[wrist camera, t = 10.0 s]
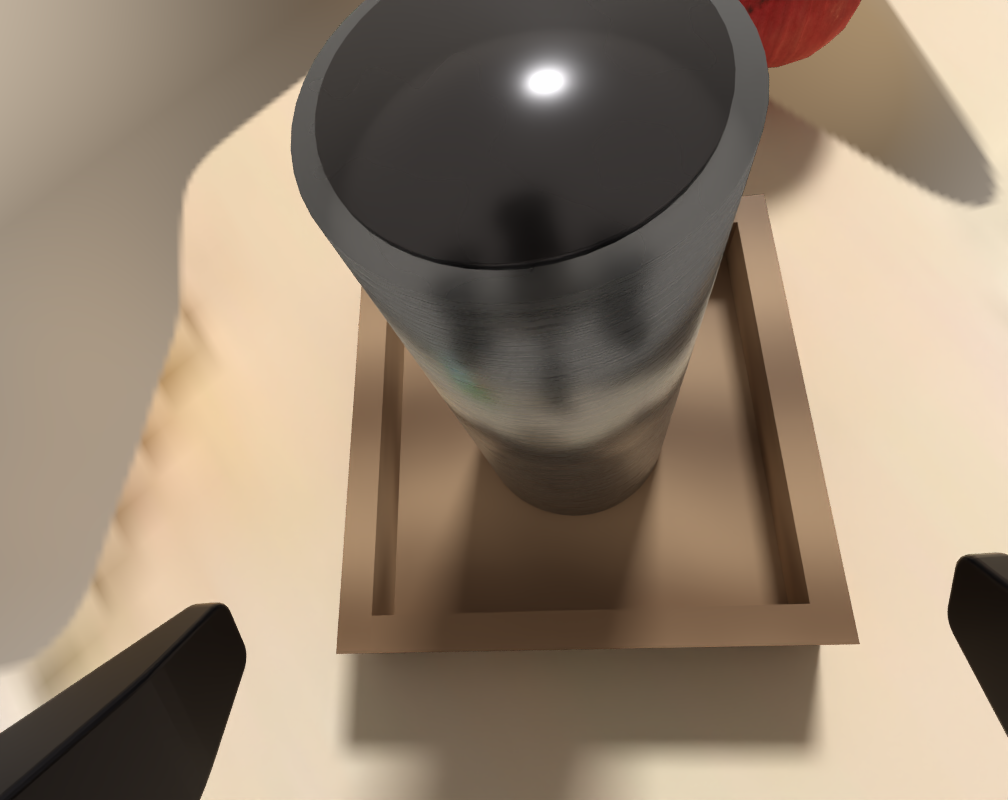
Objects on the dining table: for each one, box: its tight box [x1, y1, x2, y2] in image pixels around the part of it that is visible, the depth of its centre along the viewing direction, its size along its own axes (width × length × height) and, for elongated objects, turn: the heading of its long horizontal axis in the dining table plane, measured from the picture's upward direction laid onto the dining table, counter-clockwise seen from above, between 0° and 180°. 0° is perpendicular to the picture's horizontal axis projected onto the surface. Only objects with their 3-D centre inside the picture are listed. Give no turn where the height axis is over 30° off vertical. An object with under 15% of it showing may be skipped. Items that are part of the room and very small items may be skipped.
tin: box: [291, 0, 769, 516], centre depth 14 cm, size 6×6×14 cm
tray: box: [336, 194, 860, 654], centre depth 20 cm, size 14×14×3 cm
